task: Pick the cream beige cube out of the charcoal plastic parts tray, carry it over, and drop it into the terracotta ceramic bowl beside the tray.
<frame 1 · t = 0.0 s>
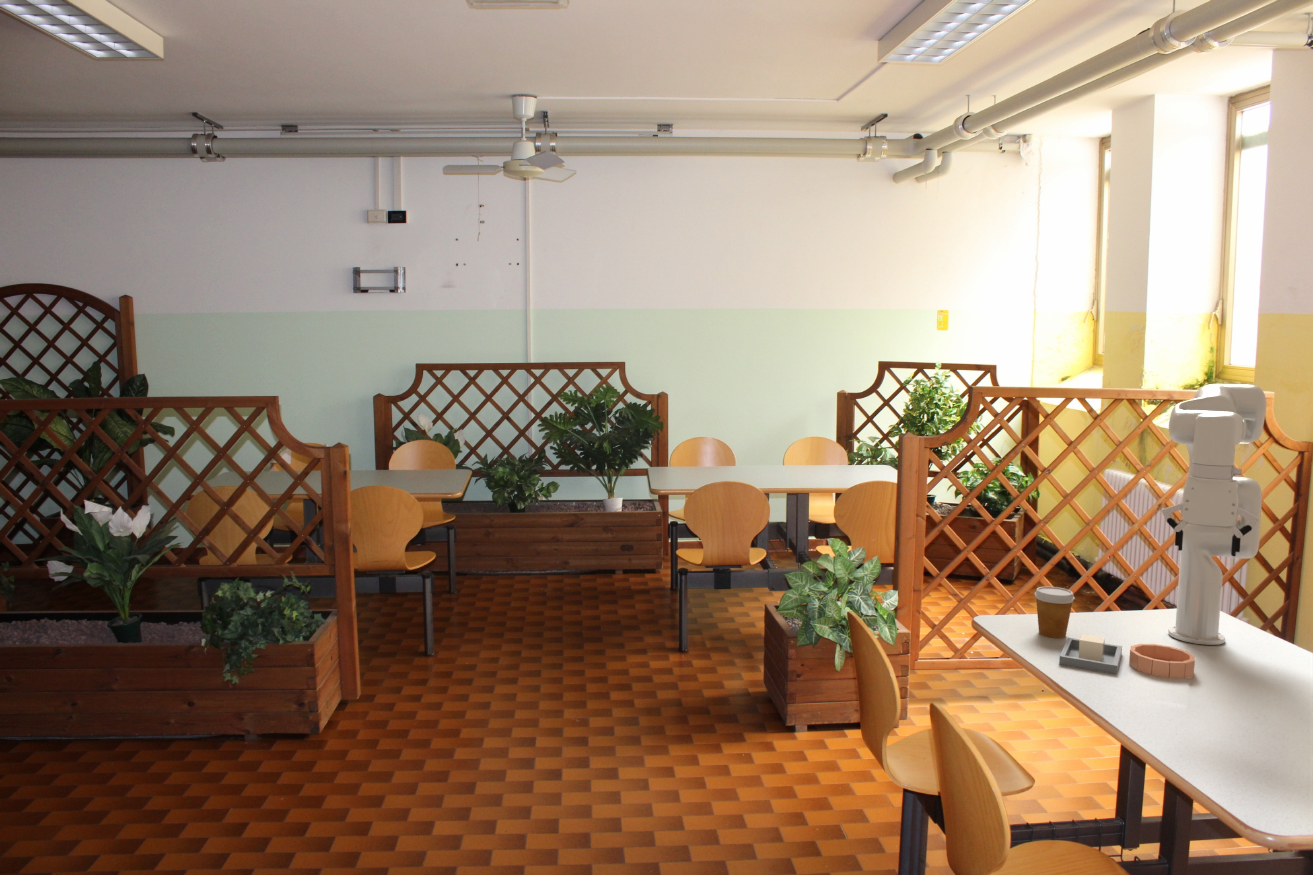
hand: (1206, 552, 189), 31 cm above the table, tool pointing down, fingers open, 9 cm apart
disposable coffee cup: (1052, 636, 231), on the table
cream beige cube: (1091, 659, 212), resting on parts tray
bowl: (1160, 669, 207), on the table
parts tray: (1090, 661, 212), on the table
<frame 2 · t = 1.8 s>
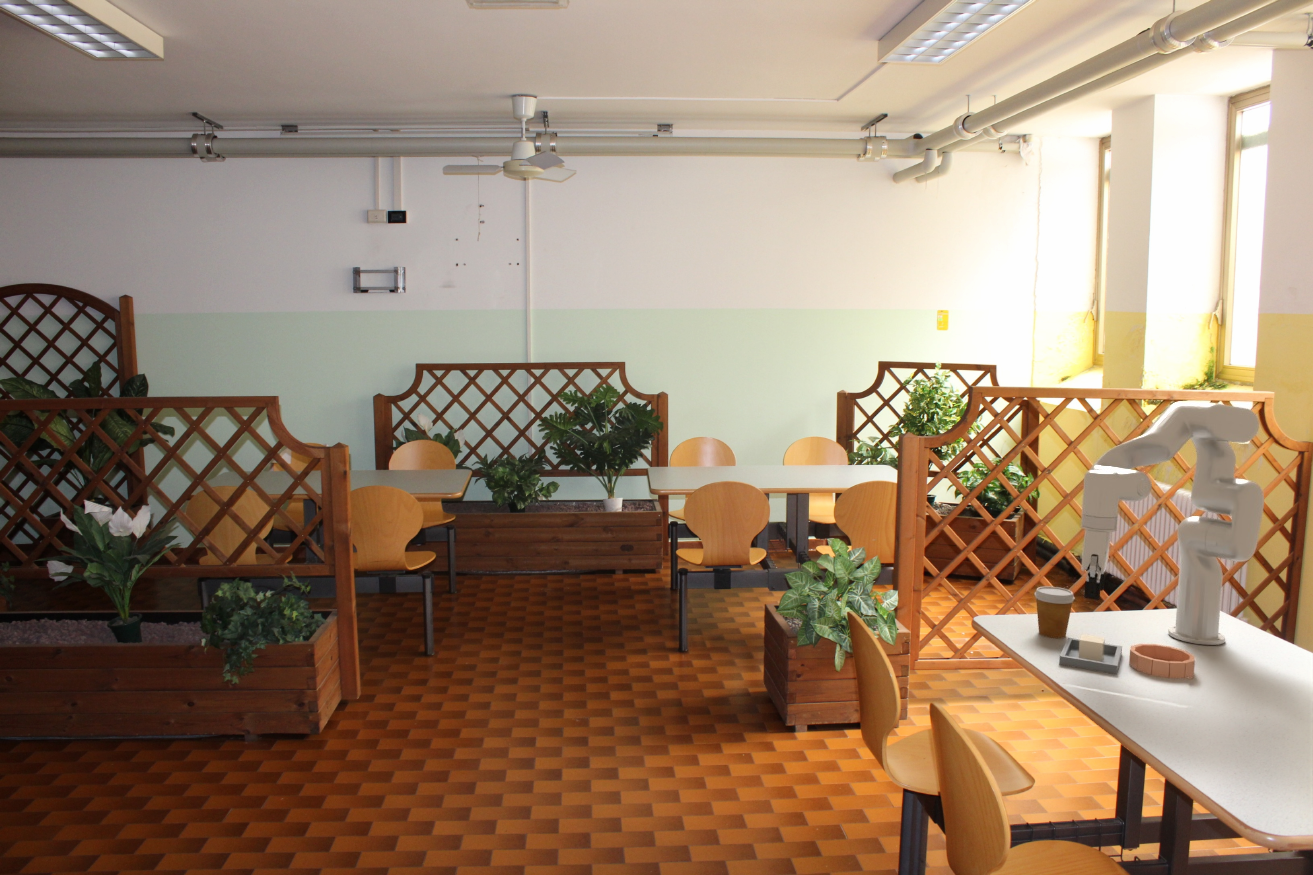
hand: (1093, 594, 210), 16 cm above the table, tool pointing down, fingers open, 9 cm apart
nothing on the table moved.
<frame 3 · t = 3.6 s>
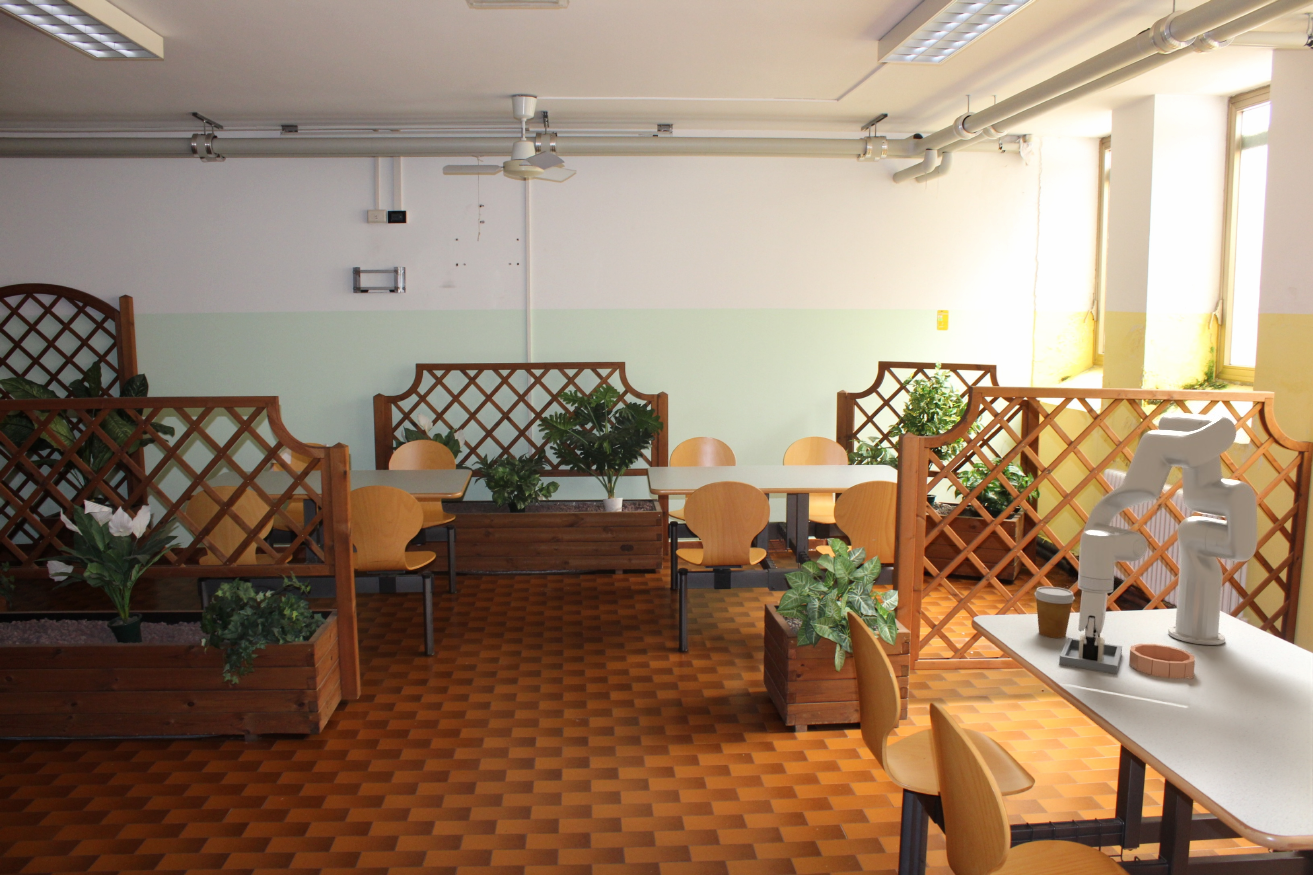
hand: (1091, 656, 212), 1 cm above the table, tool pointing down, fingers closed on cream beige cube, 4 cm apart
cream beige cube: (1091, 659, 212), point 1 cm above the table, touching gripper, parts tray
everything else where it was.
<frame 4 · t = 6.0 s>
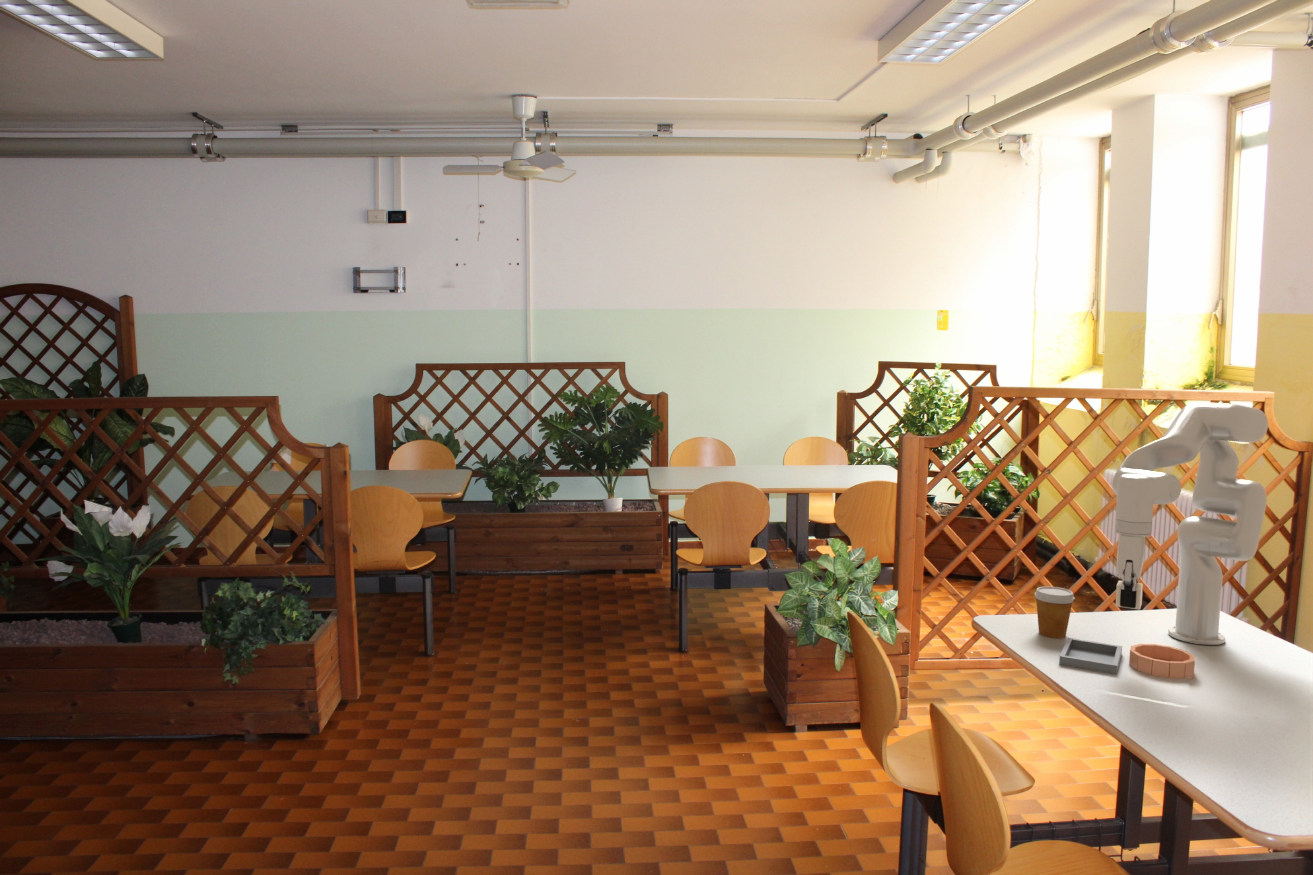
hand: (1128, 603, 208), 15 cm above the table, tool pointing down, fingers closed on cream beige cube, 4 cm apart
cream beige cube: (1128, 605, 208), point 14 cm above the table, touching gripper
everything else where it was.
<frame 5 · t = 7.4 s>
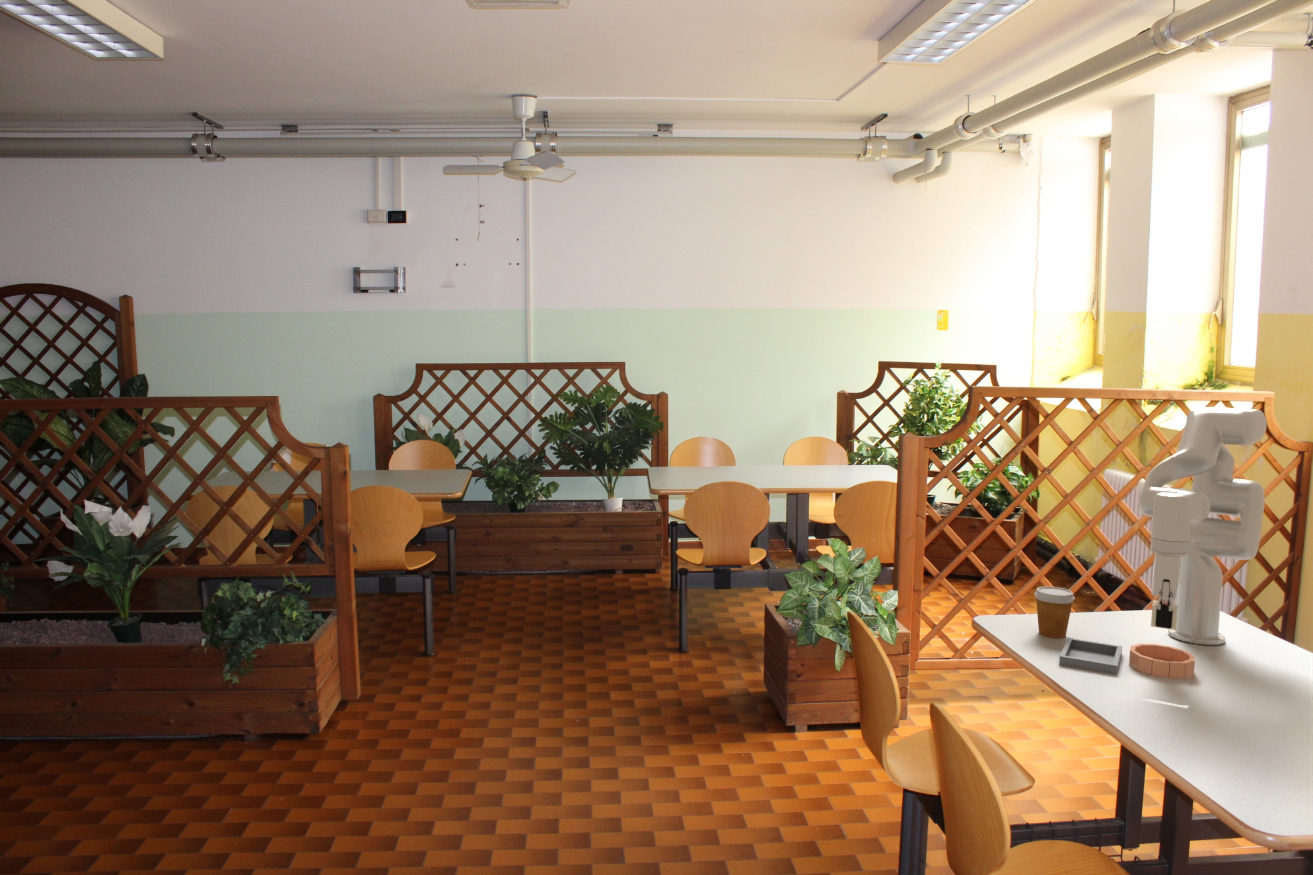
hand: (1163, 623, 206), 11 cm above the table, tool pointing down, fingers closed on cream beige cube, 4 cm apart
cream beige cube: (1163, 625, 206), point 11 cm above the table, touching gripper
everything else where it was.
when the fingers open (6 cm above the table, at t = 8.7 s): cream beige cube drops 5 cm, resting on bowl.
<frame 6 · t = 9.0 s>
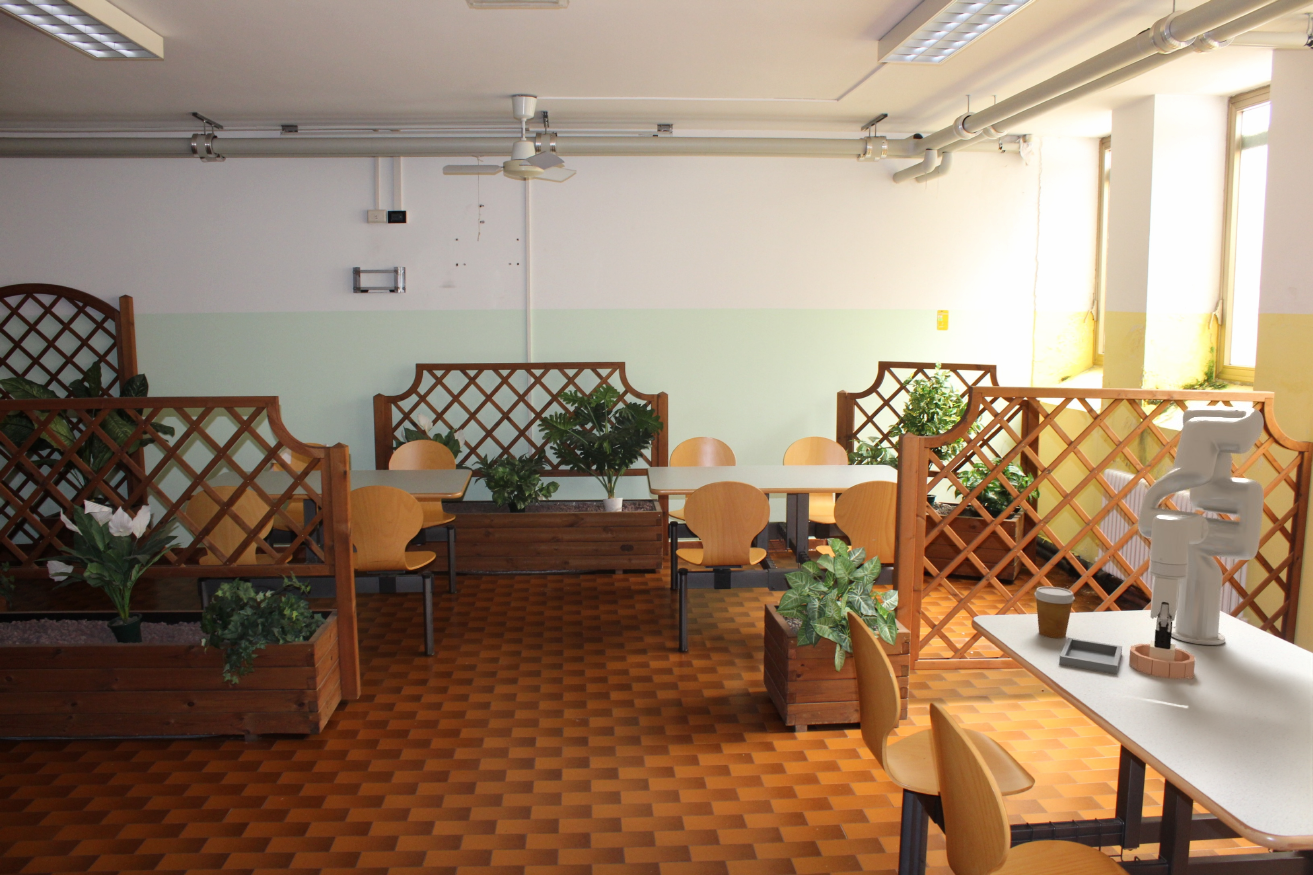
hand: (1162, 642, 206), 7 cm above the table, tool pointing down, fingers open, 8 cm apart
cream beige cube: (1161, 666, 207), point 1 cm above the table, touching bowl
everything else where it was.
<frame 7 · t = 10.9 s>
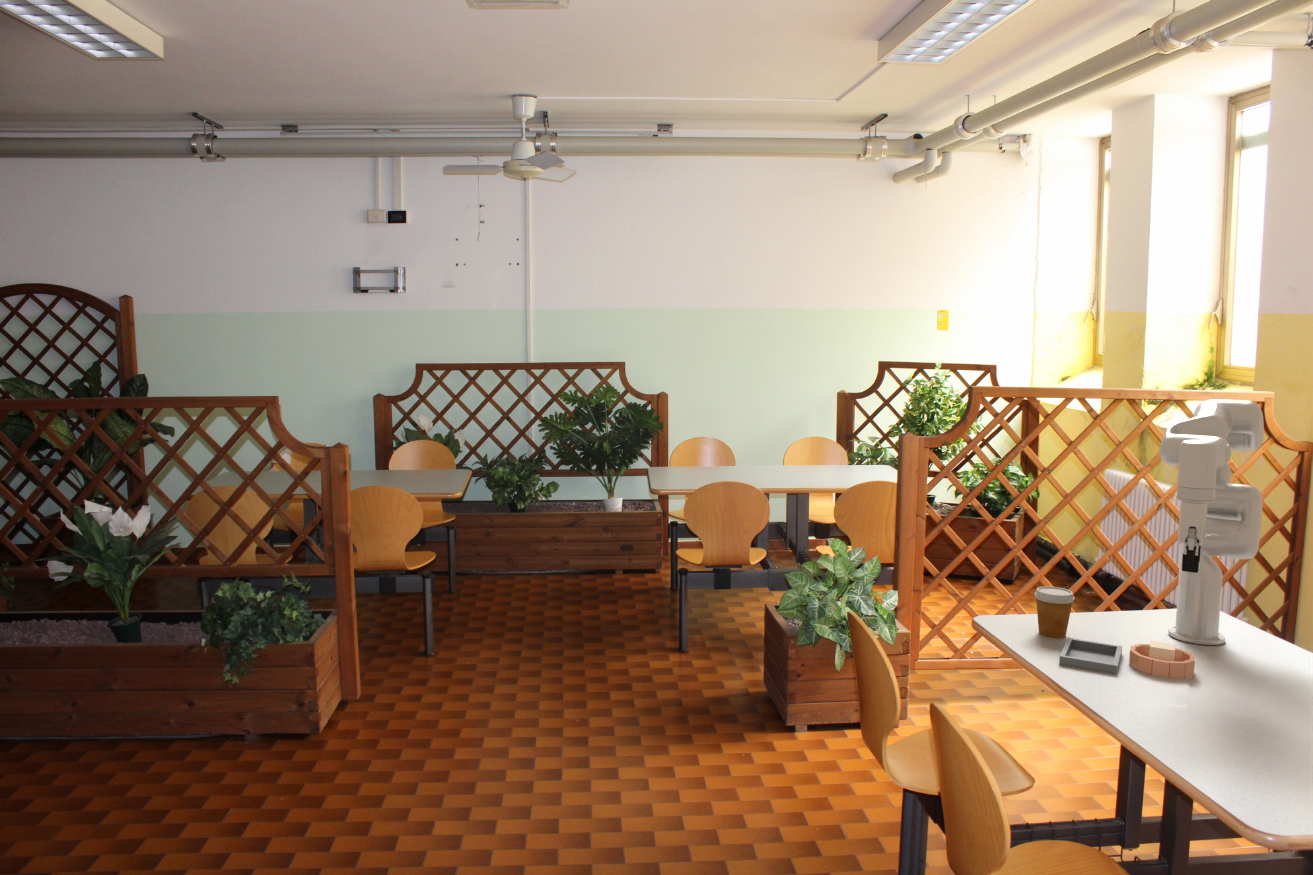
hand: (1190, 566, 206), 24 cm above the table, tool pointing down, fingers open, 9 cm apart
nothing on the table moved.
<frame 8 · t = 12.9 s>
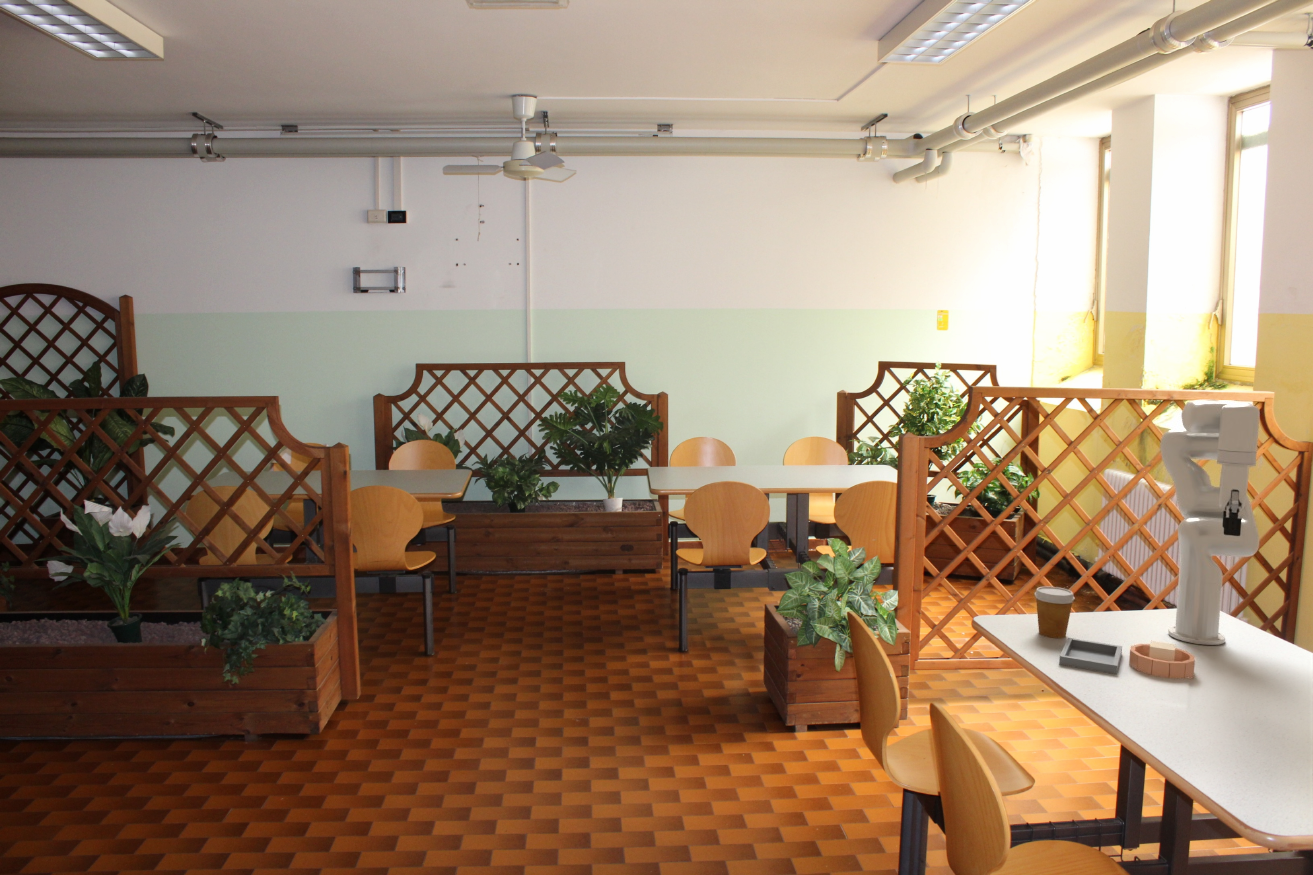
hand: (1231, 531, 206), 32 cm above the table, tool pointing down, fingers open, 9 cm apart
nothing on the table moved.
at the end: cream beige cube inside the target area on the bowl (0.1 cm from its centre), point 0.8 cm above the bowl's base; the gripper is holding nothing; disposable coffee cup moved 0.2 cm from its start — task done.
